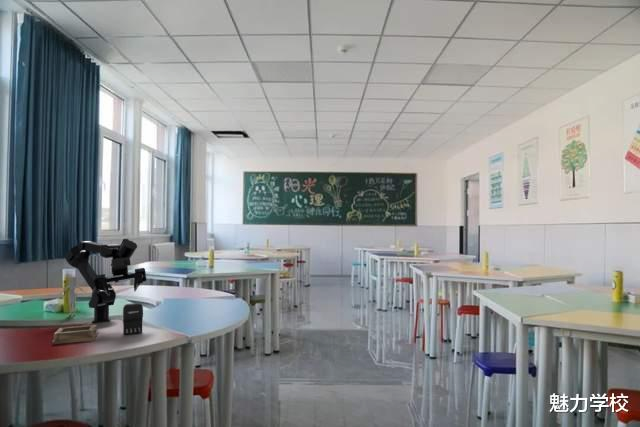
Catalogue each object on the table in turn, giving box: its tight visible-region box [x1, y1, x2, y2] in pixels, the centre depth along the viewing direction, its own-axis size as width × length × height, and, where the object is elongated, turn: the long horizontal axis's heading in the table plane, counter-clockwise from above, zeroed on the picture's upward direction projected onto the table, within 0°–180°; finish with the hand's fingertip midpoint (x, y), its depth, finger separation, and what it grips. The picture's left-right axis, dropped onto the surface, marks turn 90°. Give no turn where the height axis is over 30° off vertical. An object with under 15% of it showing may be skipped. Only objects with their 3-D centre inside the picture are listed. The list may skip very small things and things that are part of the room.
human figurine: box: [57, 276, 88, 316], centre depth 187 cm, size 12×4×18 cm, turn 126°
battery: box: [122, 302, 144, 336], centre depth 153 cm, size 7×4×11 cm, turn 121°
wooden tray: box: [51, 324, 99, 346], centre depth 147 cm, size 10×13×4 cm
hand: (122, 293), depth 158 cm, fingers open, 9 cm apart
